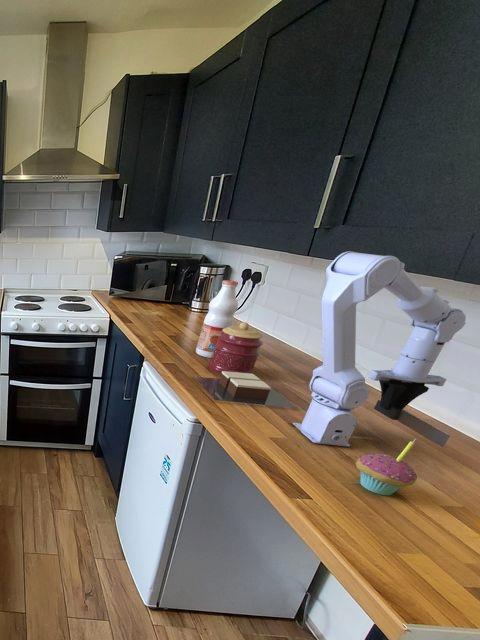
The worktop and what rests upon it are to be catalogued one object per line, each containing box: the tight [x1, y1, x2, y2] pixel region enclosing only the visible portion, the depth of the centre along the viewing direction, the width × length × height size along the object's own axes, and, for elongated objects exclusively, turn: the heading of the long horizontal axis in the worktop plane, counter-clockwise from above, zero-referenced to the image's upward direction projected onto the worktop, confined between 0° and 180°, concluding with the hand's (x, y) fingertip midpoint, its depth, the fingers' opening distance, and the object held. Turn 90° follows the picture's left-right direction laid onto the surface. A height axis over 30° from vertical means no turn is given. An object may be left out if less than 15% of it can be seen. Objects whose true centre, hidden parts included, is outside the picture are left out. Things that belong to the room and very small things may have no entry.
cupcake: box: [355, 438, 418, 496], centre depth 79 cm, size 9×8×12 cm
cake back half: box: [219, 371, 261, 389], centre depth 124 cm, size 5×9×4 cm, turn 81°
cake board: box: [193, 376, 298, 409], centre depth 122 cm, size 18×22×1 cm
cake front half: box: [227, 379, 272, 400], centre depth 119 cm, size 5×9×4 cm, turn 81°
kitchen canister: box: [208, 321, 264, 375], centre depth 135 cm, size 13×13×18 cm
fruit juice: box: [195, 279, 239, 359], centre depth 149 cm, size 9×9×28 cm
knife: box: [373, 399, 451, 448], centre depth 93 cm, size 18×2×3 cm, turn 171°
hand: (390, 408), depth 99 cm, fingers closed on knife, 2 cm apart
